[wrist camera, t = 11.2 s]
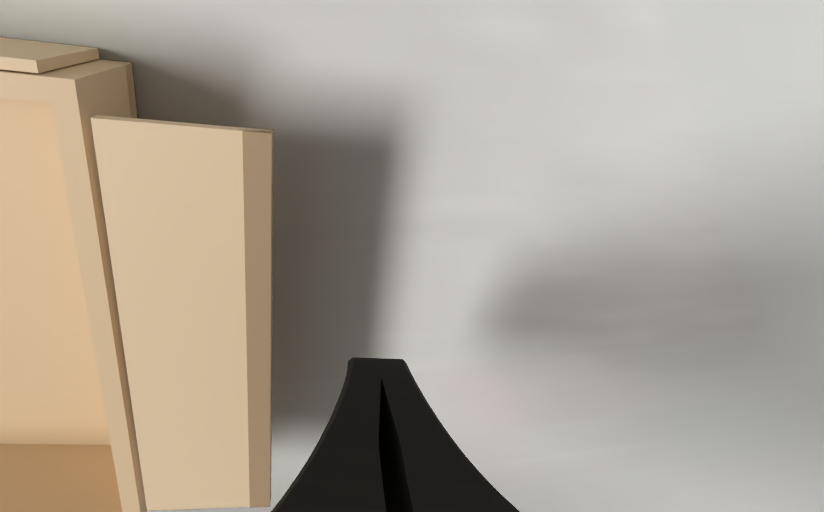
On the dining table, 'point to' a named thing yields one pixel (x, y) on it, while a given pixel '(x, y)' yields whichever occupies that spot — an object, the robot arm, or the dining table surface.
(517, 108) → the dining table surface
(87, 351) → the carton
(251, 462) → the flap
